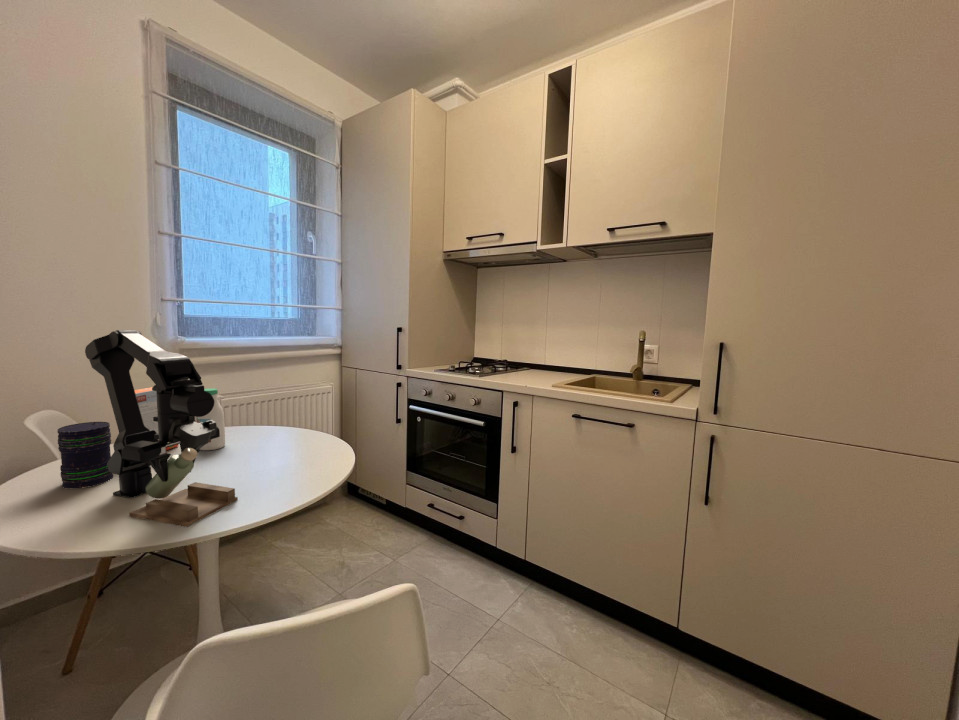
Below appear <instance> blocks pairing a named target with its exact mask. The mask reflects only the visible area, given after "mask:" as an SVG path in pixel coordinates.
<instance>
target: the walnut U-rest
mask: <svg viewBox="0 0 959 720" xmlns="http://www.w3.org/2000/svg"><path fill="white" fill-rule="evenodd" d="M237 501H238V496H236V488H234V487H228V486H222V485H221V486H220V485H216V484H209V483H202V482H192V483H190V484H188V485H187V488H184V489H181V490H179V491H177V492H175V493H173V494H170V495H169V496H167V497H165V498H161V499H157V498H153V499H152V500H150V501H147V502H146V503H145V505H144V506H142V507H139V508H137V509H135V510H133V511H130V512H129V517H131V518H136V519H137V518H138V519H143V520H147V521H153V522H158V523H163V524H167V525H168V524H170V525H173V526H179V527H183V528H188V527H189V526H192V525H194V524H196V523H197V522H199V521H200V520H203V519H205V518H206V517H209V516H211V515H212V514H214V513H216V512H218V511H220V510H222V509H223V508H226V507H228V506H230V505H231V504H233V503H235V502H237Z"/></svg>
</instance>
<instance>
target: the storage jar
mask: <svg viewBox="0 0 959 720" xmlns="http://www.w3.org/2000/svg"><path fill="white" fill-rule="evenodd" d="M110 425H111V424H110V422H108V421H90V422H80V423H74V424H70V425H69V424H68V425H65V426H62V427H59V428H57V438H58V439H57V444H58V452H60V458H61V459H60V460H61V465H60V467H59V468H60V474H59V475H60V479H61V482H62V485H61V487H62V486H63V487H64V488H63V487H62V488H63V489H65V488H80V489H83V488H82V487H86V488H89V487H88V486H91V487H94V486H93V485H95V486H98V485H97V484H99V485H102V484H105V483H107V482H109V481H111V480H112V479H113V478H114V473H111V472H109V470H108V466H107V463H108V461H109V460H110V458H111V456H112V454H111V444H112V433H111V428H110ZM110 479H111V480H110ZM108 480H109V481H108ZM106 481H107V482H106ZM104 482H105V483H104ZM101 483H102V484H101Z"/></svg>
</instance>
